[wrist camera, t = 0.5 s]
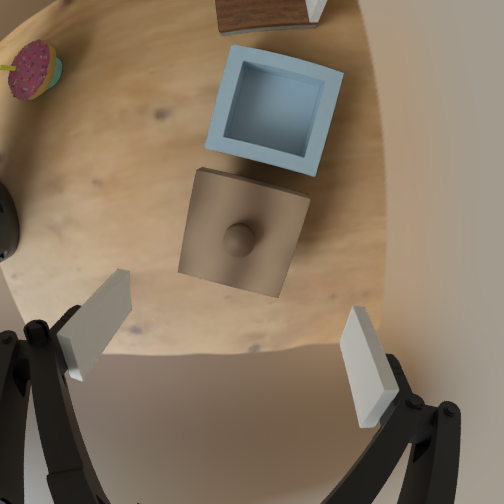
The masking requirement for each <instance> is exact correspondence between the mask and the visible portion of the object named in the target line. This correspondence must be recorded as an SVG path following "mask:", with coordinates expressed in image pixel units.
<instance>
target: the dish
mask: <svg viewBox="0 0 504 504" xmlns="http://www.w3.org/2000/svg"><path fill="white" fill-rule="evenodd" d="M343 75H344V73H342V72H339V71H337V70H334V69H331V68H328V67H324V66H321V65H318V64H315V63H311V62H308V61H304V60H301V59H297V58H293V57H290V56H286V55H282V54H278V53H273V52H269V51H264V50H260V49H255V48H250V47H244V46H239V45H233V44H232V46H231V49H230V52H229V56H228V59H227V63H226V66H225V70H224V73H223V77H222V80H221V84H220V88H219V91H218V95H217V99H216V103H215V107H214V111H213V115H212V119H211V123H210V127H209V131H208V135H207V139H206V144H205V148H204V149H208V150H213V151H217V152H222V153H226V154H231V155H235V156H239V157H243V158H247V159H251V160H255V161H259V162H263V163H267V164H271V165H274V166H278V167H282V168H285V169H289V170H293V171H296V172H300V173H303V174H306V175H310V176H313V177H315V175H316V172H317V168H318V165H319V162H320V158H321V155H322V151H323V148H324V144H325V141H326V137H327V134H328V130H329V127H330V123H331V119H332V116H333V112H334V109H335V105H336V101H337V97H338V94H339V90H340V86H341V82H342V78H343Z"/></svg>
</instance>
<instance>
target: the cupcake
mask: <svg viewBox="0 0 504 504" xmlns="http://www.w3.org/2000/svg"><path fill="white" fill-rule="evenodd" d="M0 70H9V71H10V73H9V77H8V79H9V80H8V84H9V86H10V87H9V88H10V89H11V91H12V92H11V93H12V94H14V95H15V96H14V95H13V96H14V97H16V98H18V99H19V100H20V99H21V100H33V99H35V98H36V97H38V96H39V95H41V94H42V93H44V92H45V90H46V89H49V88H51V87H53V86H54V85H55V84H56V83H57V82H58V80H59V78H60V76H61V73H62V63H61V61H60V59H58V58H57V57H56V50H55V48H54V47H53V46H52V45H51V44H50V43H48V42H46V41H41V40H37V41H34V42H32V43H30V44H28V45H27V46H25V47H24V48H22V50H21V51H20V52H18V55H17V56H16V57H15V58H14V61H13V63H12V65H11V66H8V65H0Z"/></svg>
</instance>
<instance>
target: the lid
mask: <svg viewBox="0 0 504 504" xmlns="http://www.w3.org/2000/svg"><path fill="white" fill-rule="evenodd" d="M310 201H311V199H310V197H309V195H308V194H305V193H302V192H298V191H295V190H291V189H288V188H284V187H280V186H277V185H273V184H269V183H265V182H262V181H258V180H254V179H250V178H246V177H242V176H238V175H234V174H230V173H226V172H221V171H217V170H213V169H208V168H204V167H201V168H199V169H197V170H196V175H195V179H194V184H193V189H192V194H191V199H190V205H189V210H188V215H187V221H186V226H185V232H184V238H183V244H182V250H181V256H180V262H179V269H178V273H182V274H186V275H189V276H193V277H197V278H200V279H204V280H208V281H212V282H216V283H219V284H223V285H227V286H231V287H235V288H239V289H243V290H247V291H251V292H255V293H259V294H263V295H267V296H271V297H275V298H279V295H280V292H281V289H282V286H283V284H284V281H285V278H286V275H287V272H288V269H289V266H290V263H291V260H292V257H293V254H294V251H295V248H296V245H297V242H298V238H299V235H300V232H301V229H302V226H303V223H304V220H305V217H306V213H307V210H308V207H309V204H310Z"/></svg>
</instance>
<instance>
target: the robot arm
mask: <svg viewBox="0 0 504 504" xmlns="http://www.w3.org/2000/svg"><path fill="white" fill-rule="evenodd" d="M18 235H19V230H18V220H17V214H16V210H15V207H14V204H13V201H12V199H11V197H10V195H9V193H8V191H7V189H6V188H5V187H4V185H3V184H2V183H1V182H0V262H2V261H4V260H6V259H7V258H9V257H10V256H12V255H13V253H14V252H15V250H16V247H17V243H18ZM131 310H132V303H131V290H130V274H129V271H127V270H122V269H117V270H116V271H115V272H114V273H113V274H112V275H111V276H110V277H109V278H108V279H107V280H106V281H105V282H104V284H103V285H102V286H101V287H100V288H99V289H98V290H97V291H96V292H95V293H94V294H93V295H92V296H91V297H90V298H89V299H88V300H87V301H86V302H85V303H84V304H83V305H82V306H80V305H75V306H74V307H72V308H70V309H69V310H68V311H67V312H66V313H65V314H64V316H62V317H61V318H60V320H58V321H57V322H56V323H55V324H54V325H53V327H52V328H51V329H50V330H49V327H48V324H47V323H46V322H45V321H43V320H33V321H30V322H29V323H27V324H26V325H25V327H24V330H23V331H24V334H25V337H26V339H27V340H18V337H17V335H16V333H15V332H14V331H10V330H8V331H4V332H1V333H0V504H24V442H25V429H26V419H27V409H28V402H29V395H30V387H31V386H32V394H33V401H34V407H35V414H36V419H37V425H38V430H39V435H40V439H41V444H42V448H43V452H44V456H45V460H46V464H47V467H48V471H49V474H48V475H47V483H48V486H49V489H50V492H51V495H52V498H53V501H54V504H111V503H110V502H109V500H108V498H107V497H106V495H105V493H104V491H103V489H102V487H101V484H100V482H99V480H98V478H97V475H96V473H95V470H94V468H93V465H92V463H91V460H90V458H89V455H88V452H87V450H86V447H85V444H84V441H83V439H82V435H81V432H80V429H79V426H78V423H77V419H76V416H75V413H74V409H73V406H72V402H71V398H70V394H69V390H68V386H67V382H66V378H65V375H64V373H65V372H66V371H67V369H68V371H69V373H70V376H71V377H72V378H75V379H77V380H80V381H84V380H85V378H86V377H87V375H88V373H89V372H90V370H91V369H92V367H93V366H94V364H95V363H96V361H97V360H98V358H99V357H100V355H101V354H102V352H103V351H104V349H105V348H106V346H107V345H108V343H109V342H110V340H111V339H112V337H113V336H114V335H115V333H116V332H117V330H118V329H119V327H120V326H121V324H122V323H123V322H124V320H125V319H126V317H127V316H128V315H129V313H130V312H131ZM339 343H340V347H341V351H342V355H343V359H344V363H345V366H346V370H347V374H348V378H349V383H350V386H351V391H352V395H353V399H354V404H355V408H356V413H357V417H358V422H359V426H360V428H366V427H367V428H368V427H375V425H376V424H377V423H378V421H379V420H380V424H381V428H380V429H379V430H378V431H377V433H376V434H375V435H374V437H373V438H372V440H371V442H370V443H369V445H368V446H367V447H366V449H365V450H364V452H363V453H362V454H361V456H360V457H359V458H358V460H357V461H356V462H355V463H354V465H353V466H352V467H351V469H350V470H349V471H348V473H347V474H346V475H345V476H344V477H343V479H342V480H341V481H340V482H339V483H338V485H337V486H336V487H335V488H334V489H333V490H332V491H331V493H330V494H329V495H328V496H327V497H326V498H325V499H324V500H323V501H322V503H321V504H371V503H372V502H373V500H374V499H375V498H376V496H377V495H378V493H379V492H380V490H381V489H382V487H383V486H384V484H385V482H386V481H387V479H388V478H389V476H390V475H391V473H392V471H393V469H394V468H395V466H396V465H397V463H398V461H399V459H400V458H401V456H402V454H403V452H404V450H405V448H406V446H407V445H408V443H412V446H411V451H410V456H409V460H408V465H407V469H406V473H405V477H404V481H403V485H402V488H401V492H400V495H399V499H398V502H397V504H454V500H455V493H456V486H457V478H458V468H459V456H460V436H461V435H460V434H461V413H460V409H459V408H458V406H457V405H456V404H454V403H452V402H450V401H444V402H442V403H441V404H440V405H439V406H438V407H433V406H429V405H425V403H424V401H423V399H422V398H421V397H419V396H418V395H416V394H413V393H412V391H411V388H410V386H409V384H408V382H407V379H406V377H405V375H404V372H403V370H402V369H401V368H402V367H401V365H400V363H399V361H398V360H397V359H396V358H395V356H394V355H393V354H385V353H384V350H383V348H382V346H381V343H380V341H379V339H378V336H377V334H376V332H375V329H374V327H373V325H372V323H371V320H370V318H369V316H368V314H367V312H366V309H365V307H361V306H352V308H351V311H350V314H349V317H348V320H347V323H346V325H345V328H344V331H343V333H342V336H341V339H340V341H339ZM137 504H139V503H137Z"/></svg>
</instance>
